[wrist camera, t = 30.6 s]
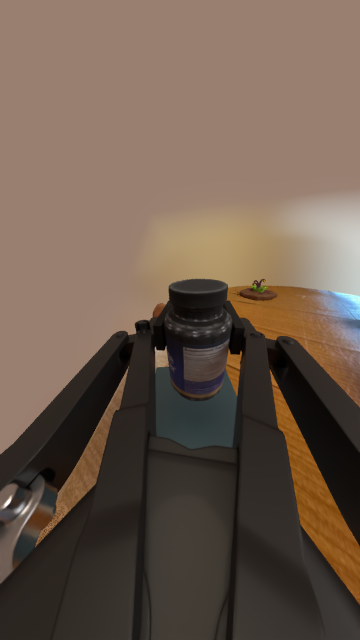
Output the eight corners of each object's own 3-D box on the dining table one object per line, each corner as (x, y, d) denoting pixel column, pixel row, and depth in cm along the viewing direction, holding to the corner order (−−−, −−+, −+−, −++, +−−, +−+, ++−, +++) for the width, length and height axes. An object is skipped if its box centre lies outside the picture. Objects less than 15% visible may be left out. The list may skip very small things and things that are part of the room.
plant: (258, 302, 79) (263, 283, 74) (235, 294, 96) (237, 278, 90) (281, 297, 86) (287, 279, 80) (255, 290, 102) (259, 275, 97)
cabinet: (252, 510, 17) (274, 485, 12) (150, 515, 17) (134, 492, 12) (218, 395, 30) (223, 363, 25) (162, 398, 30) (156, 367, 25)
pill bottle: (171, 360, 18) (162, 279, 13) (214, 357, 18) (222, 275, 13) (170, 406, 13) (154, 297, 8) (232, 402, 13) (256, 292, 8)
